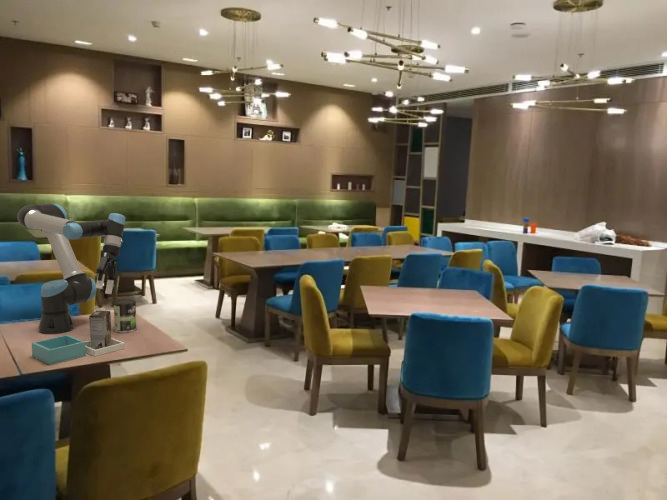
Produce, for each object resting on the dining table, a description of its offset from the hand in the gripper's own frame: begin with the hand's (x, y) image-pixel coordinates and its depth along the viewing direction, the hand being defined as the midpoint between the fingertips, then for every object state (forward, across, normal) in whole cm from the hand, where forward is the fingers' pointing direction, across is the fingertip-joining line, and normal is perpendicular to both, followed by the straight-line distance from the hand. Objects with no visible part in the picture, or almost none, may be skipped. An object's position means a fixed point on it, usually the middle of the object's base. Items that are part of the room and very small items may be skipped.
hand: (103, 291), depth 254 cm
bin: (+31, -12, +9) cm, 34 cm away
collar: (+26, -3, -5) cm, 27 cm away
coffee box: (+26, -3, -5) cm, 27 cm away
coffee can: (+14, +24, -6) cm, 28 cm away
